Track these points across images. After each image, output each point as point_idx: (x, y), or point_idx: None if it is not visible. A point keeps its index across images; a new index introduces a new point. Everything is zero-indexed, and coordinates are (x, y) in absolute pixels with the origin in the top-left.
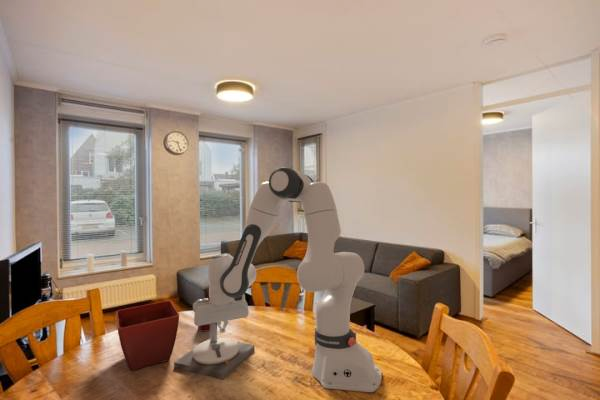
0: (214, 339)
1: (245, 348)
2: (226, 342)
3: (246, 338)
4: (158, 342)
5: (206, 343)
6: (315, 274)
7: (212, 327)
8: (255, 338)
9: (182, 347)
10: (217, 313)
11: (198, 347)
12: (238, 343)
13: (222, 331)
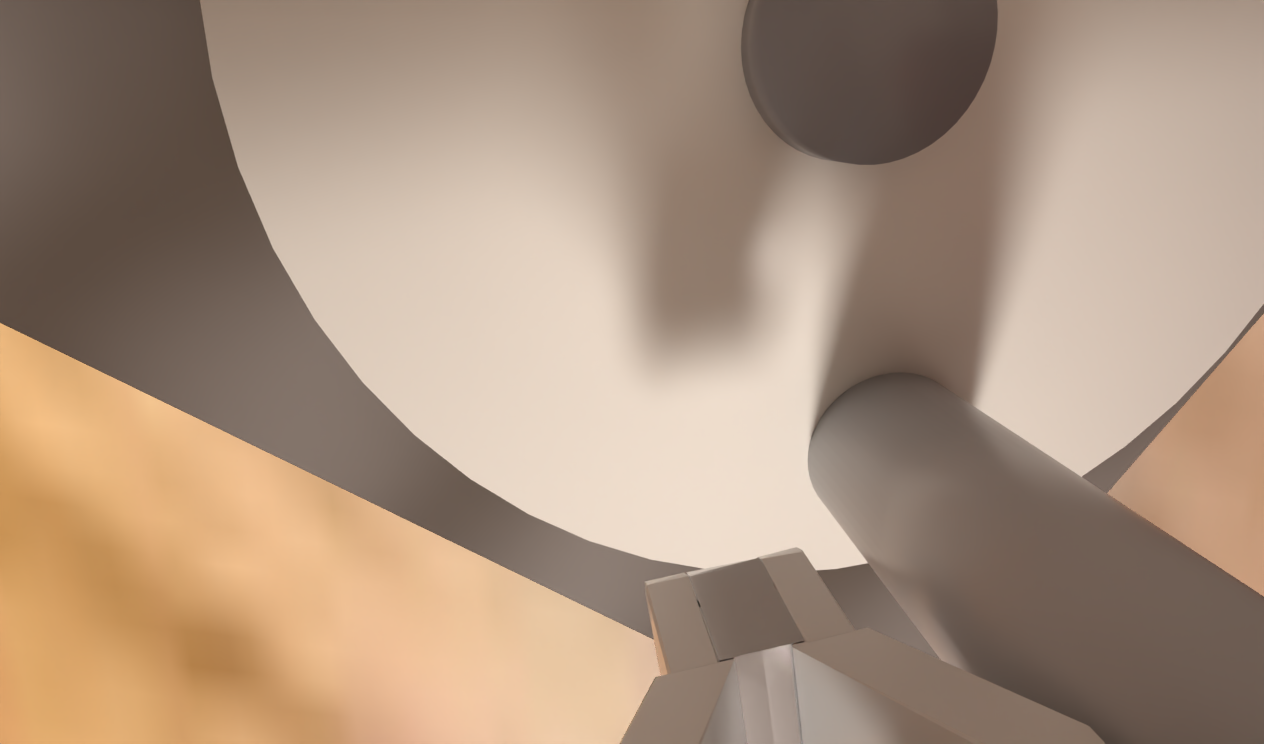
0: (912, 404)
1: (81, 111)
2: (584, 321)
3: (222, 724)
4: None
5: (1054, 370)
6: None
7: (1257, 607)
8: (31, 704)
9: (1258, 588)
10: None
11: (1243, 212)
12: (308, 412)
13: (741, 579)
